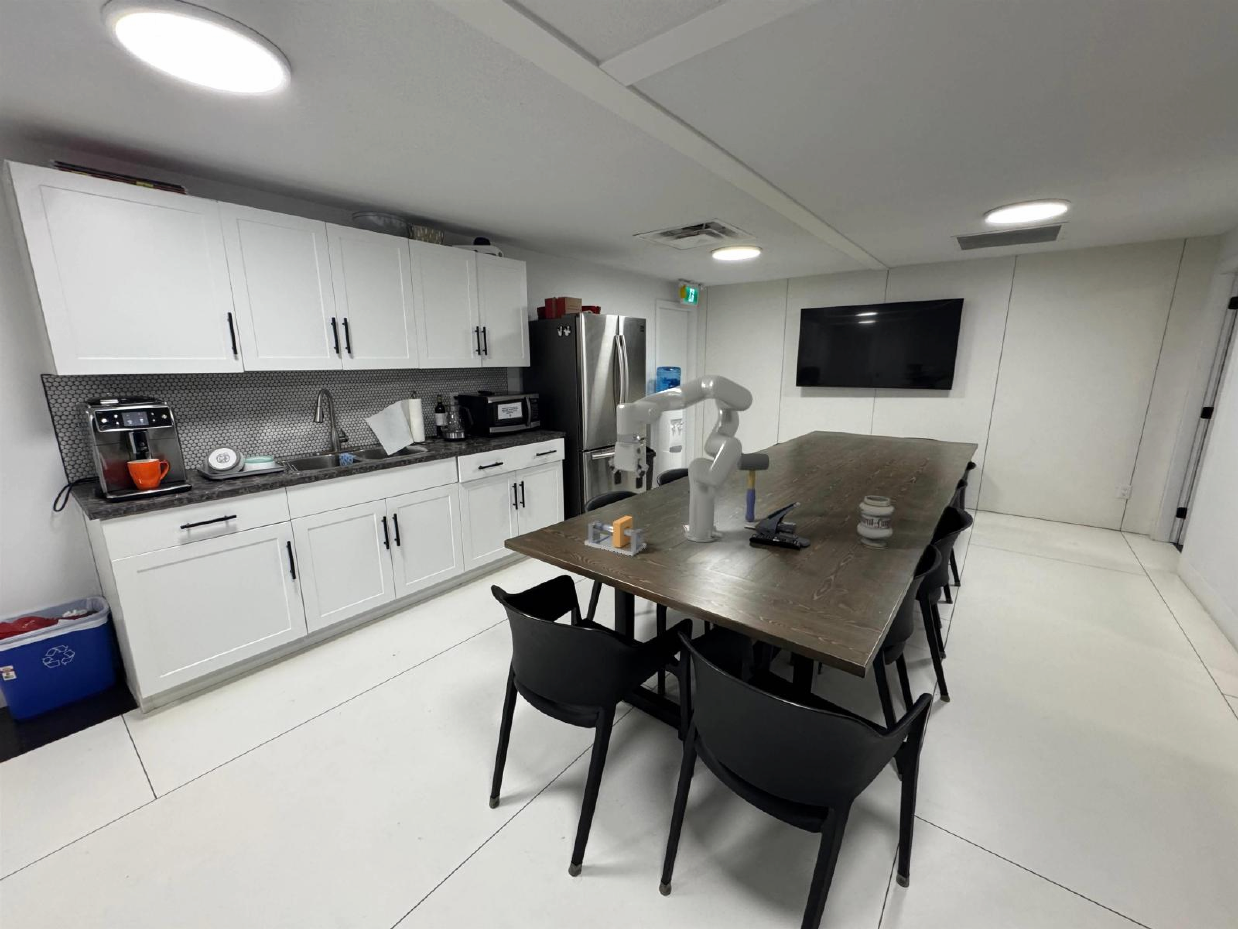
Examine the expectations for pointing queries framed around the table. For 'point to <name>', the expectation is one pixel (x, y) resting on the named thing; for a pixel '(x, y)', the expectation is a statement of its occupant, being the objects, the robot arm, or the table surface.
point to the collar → (622, 531)
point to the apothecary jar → (875, 521)
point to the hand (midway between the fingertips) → (628, 486)
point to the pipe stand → (607, 541)
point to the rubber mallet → (752, 477)
